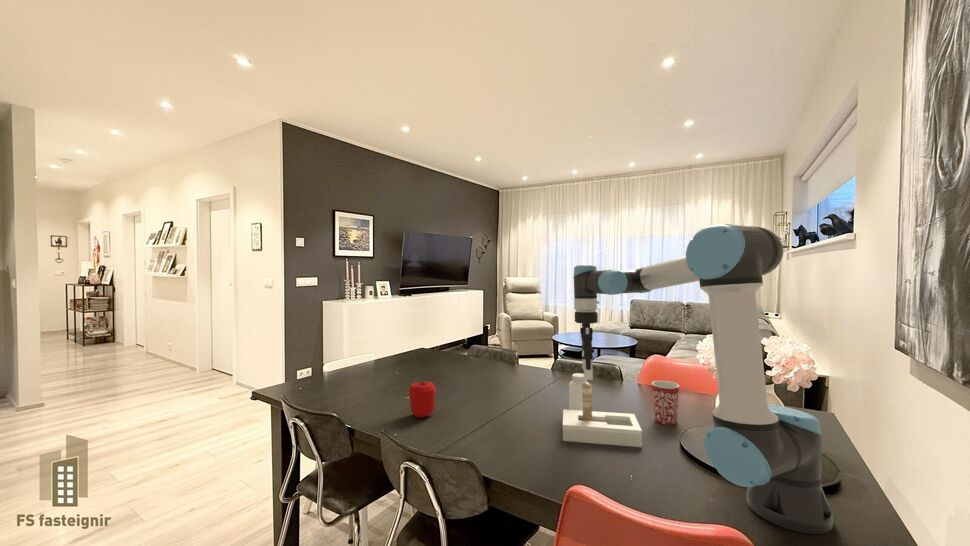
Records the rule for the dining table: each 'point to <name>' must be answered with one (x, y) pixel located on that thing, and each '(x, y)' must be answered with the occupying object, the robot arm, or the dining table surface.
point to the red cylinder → (422, 398)
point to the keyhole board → (602, 428)
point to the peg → (587, 402)
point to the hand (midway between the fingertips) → (587, 374)
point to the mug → (665, 402)
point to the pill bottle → (576, 392)
